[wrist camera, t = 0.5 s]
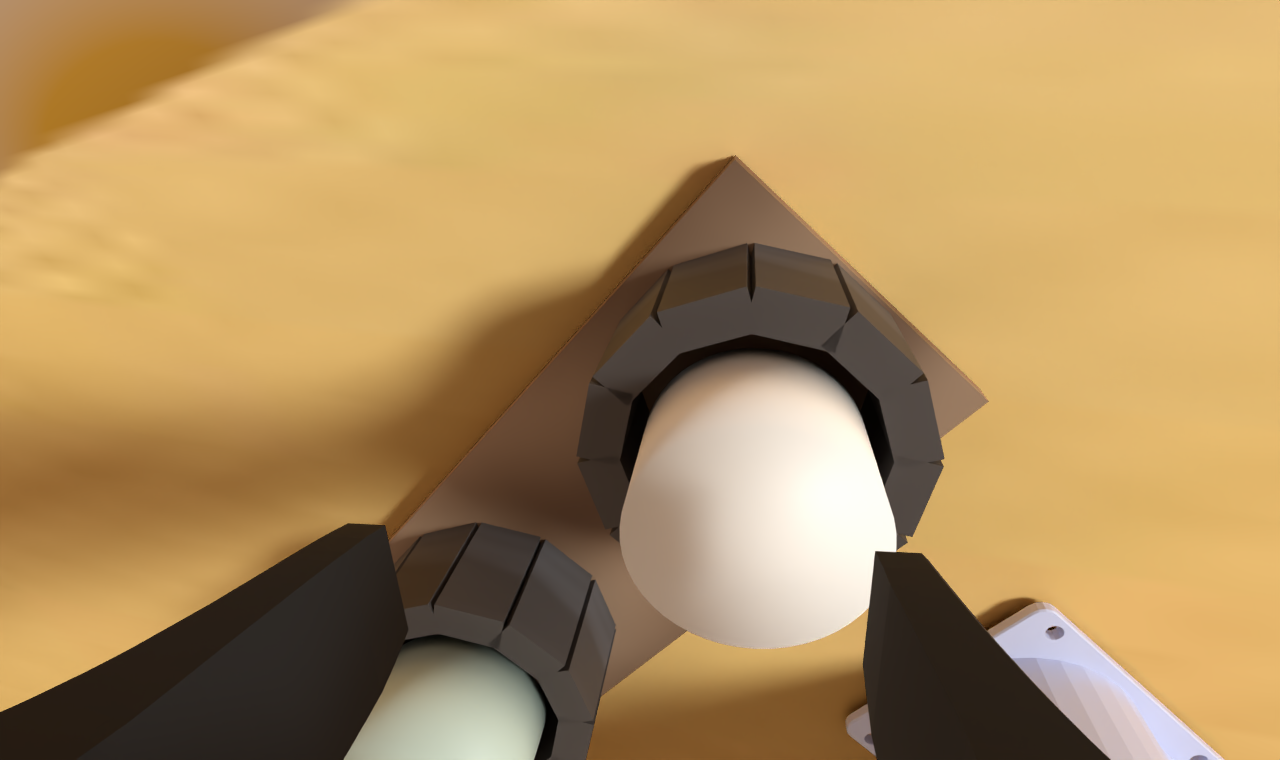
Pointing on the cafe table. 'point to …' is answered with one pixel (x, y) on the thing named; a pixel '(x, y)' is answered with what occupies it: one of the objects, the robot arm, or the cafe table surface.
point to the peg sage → (453, 706)
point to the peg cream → (756, 502)
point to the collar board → (558, 400)
